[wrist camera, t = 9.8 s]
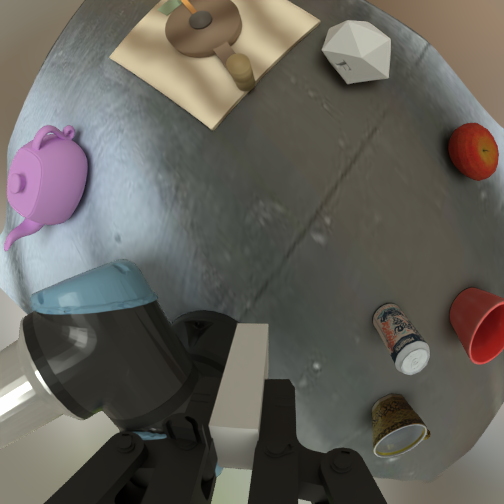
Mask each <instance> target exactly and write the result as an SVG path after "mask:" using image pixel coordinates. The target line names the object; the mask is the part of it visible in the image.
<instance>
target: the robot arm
mask: <svg viewBox="0 0 504 504" xmlns="http://www.w3.org/2000/svg"><path fill="white" fill-rule="evenodd" d="M157 298H158V297H157V295H156V293H154V292H152V290H151V288H150V287H149V285H148V283H147V282H146V280H145V278H144V277H143V275H142V273H141V271H140V270H139V268H138V267H137V266H136V265H135V264H134V263H133V262H131V261H128V260H123V259H121V260H116V261H113V262H110V263H107V264H104V265H102V266H99V267H97V268H94V269H92V270H89V271H86V272H84V273H81V274H79V275H76V276H74V277H71V278H69V279H66V280H64V281H61V282H59V283H57V284H55V285H52V286H50V287H47V288H45V289H42V290H40V291H38V292H36V293H34V294H32V295H31V297H30V301H31V307H32V309H33V312H32V313H30V314H28V315H27V316H25V317H24V318H22V320H21V323H20V331H19V338H18V340H17V341H15V342H14V343H12V344H10V345H9V346H7V347H6V348H5V349H3V350H2V351H0V449H2V448H3V447H5V446H7V445H9V444H11V443H13V442H15V441H16V440H18V439H20V438H22V437H24V436H26V435H28V434H29V433H31V432H33V431H35V430H37V429H38V428H40V427H42V426H44V425H45V424H47V423H49V422H51V421H52V420H54V419H56V418H58V417H59V416H61V415H63V414H65V415H68V416H70V417H73V418H76V419H78V420H85V419H87V418H89V417H91V416H92V415H94V414H96V413H98V412H100V411H103V412H104V413H105V414H106V415H107V416H108V417H109V418H110V419H111V420H112V421H113V423H114V424H115V425H116V426H117V427H118V428H119V430H120V432H119V433H117V434H115V435H114V436H112V437H111V438H110V439H109V440H108V441H107V442H106V443H105V444H104V445H103V446H102V447H101V448H100V449H99V450H98V451H97V452H96V453H95V454H94V455H93V456H92V457H91V458H90V459H89V460H88V461H87V462H86V463H85V464H84V465H83V466H82V467H81V468H80V469H79V470H78V471H77V472H76V473H75V474H74V475H73V476H72V477H71V478H70V479H69V480H68V481H67V482H66V483H65V484H64V485H63V486H62V487H61V488H60V489H59V490H58V491H57V492H55V494H53V495H52V497H50V498H49V499H48V500H47V501H46V502H45V503H44V504H211V501H212V496H213V491H214V487H215V483H216V478H217V476H219V475H220V474H221V472H222V470H223V467H225V468H236V469H250V470H252V476H251V484H250V491H249V499H248V504H298V499H302V500H306V501H311V503H312V504H387V502H386V500H385V499H384V497H383V495H382V493H381V491H380V489H379V488H378V486H377V484H376V482H375V480H374V479H373V477H372V475H371V473H370V471H369V469H368V467H367V466H366V464H365V462H364V460H363V458H362V457H361V456H360V454H359V453H358V452H356V451H354V450H352V449H349V448H336V449H333V450H331V451H329V452H327V453H321V452H316V451H313V450H309V449H307V448H305V447H304V446H302V445H301V444H300V443H299V441H298V439H297V435H296V410H295V387H294V386H293V384H292V383H291V381H290V380H289V379H268V368H269V349H268V324H244V323H238V322H237V321H235V320H234V319H232V318H230V317H228V316H226V315H223V314H220V313H216V312H211V311H195V312H190V313H187V314H184V315H182V316H181V317H179V318H177V319H176V320H175V321H174V322H173V323H172V324H170V323H169V321H168V319H167V318H166V316H165V314H164V312H163V311H162V309H161V307H160V305H159V303H158V302H157V300H156V299H157Z"/></svg>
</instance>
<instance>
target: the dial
mask: <svg viewBox="0 0 504 504" xmlns="http://www.w3.org/2000/svg"><path fill="white" fill-rule="evenodd" d="M181 1H182V4H181V5H180V6H178V7H177V8H176V9H175V10H174V11H173V12H172V13H171V15H170V16H169V18H168V20H167V22H166V26H165V35H166V38H167V39H168V41H169V42H170V43H171V45H172V46H173V47H174V48H175V49H176V50H177V51H178V52H180V53H181V54H183V55H185V56H189V57H194V58H202V57H209V56H213V55H217V56H218V58H219V59H220V61H221V62H222V63H223V65H224V66H225V68H226V69H227V70H228V72H229V73H230V75H231V76H232V78H233V80H234V82H235V84H236V86H237V88H238V89H239V90H241V91H245V92H246V91H250V90H252V89H253V88H254V87H255V84H256V82H255V78H254V74H253V71H252V67H251V64H250V60H249V58H248V57H247V56H246V55H244V54H241V53H235V52H234V50H233V49H232V48H231V45H232V44H233V43H234V42H235V41H236V40H237V38H238V37H239V35H240V33H241V30H242V20H241V17H240V13H239V10H238V8H237V6H236V5H235V4H234V3H233V2H232V1H231V0H181Z"/></svg>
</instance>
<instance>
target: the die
mask: <svg viewBox="0 0 504 504" xmlns="http://www.w3.org/2000/svg"><path fill="white" fill-rule="evenodd" d="M322 51H323V53H324V54H325V56H326V58H327V59H328V61H329V62H330V64H331V65H332V66H333V67H334V68H335V70H336V71H337V72H338V73H339V74H340V75H341V77H342V78H343V79H344V80H345V82H346V83H347V84H351V83H357V82H364V81H371V80H378V79H387V78H389V67H390V53H391V39H390V38H389V37H387V36H386V35H385V34H384V33H382V32H381V31H380V30H378V29H377V28H376V27H374V26H373V25H372V24H370V23H369V22H364V21H349V20H347V21H345V22H343V23H340V24H338V25H336V26H334V27H331V28H329V31H328V34H327V36H326V39H325V42H324V45H323V48H322Z"/></svg>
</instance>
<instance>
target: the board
mask: <svg viewBox="0 0 504 504" xmlns="http://www.w3.org/2000/svg"><path fill="white" fill-rule="evenodd" d="M231 1H232V2H233V3H234V4H235V5H236V6H237V8H238V10H239V13H240V17H241V20H242V30H241V33H240V35H239V37H238V38H237V40H236V41H235V42H234V43H233V44H232V45H231V48H232V49H233V50H234V52H235V53H241V54H244V55H246V56H247V57H248V58H249V60H250V64H251V67H252V71H253V74H254V78H255V82H256V84H257V83H258V82H259V81H260V80H261V78H262V77H263V76H264V75H265V74H266V73H267V72H268V71H269V70H270V69H271V68H272V67H273V66H274V65H276V64H277V63H278V62H279V61H280V60H281V59H282V58H283V57H284V56H285V55H286V54H287V53H288V52H289V51H290V50H291V49H292V48H293V47H295V46H296V45H297V44H298V43H299V42H300V41H301V40H302V39H303V38H305V37H306V36H307V35H308V34H309V33H310V32H311V31H313V30H314V29H315V28H316V27H317V26H318V25H319V24H320V20H318V19H317V18H315V17H314V16H312V15H311V14H309V13H307V12H306V11H304V10H303V9H301V8H299V7H298V6H296V5H294V4H292V3H291V2H289V1H287V0H231ZM181 4H182V1H181V0H161V1H160V2H159V3H158V4H157V5H156V6H155V7H154V8H153V9H152V10H151V11H150V12H149V13H148V14H147V15H146V16H145V17H144V18H143V19H142V20H141V21H140V22H139V23H138V24H137V25H136V26H135V27H134V28H133V30H132V31H131V32H130V33H129V34H128V35H127V36H126V38H125V39H124V40H123V41H122V42H121V43H120V45H119V46H118V47H117V48H116V49H115V51H114V52H113V53H112V54H111V56H110V57H109V58H111V59H112V60H114V61H115V62H117V63H119V64H120V65H122V66H123V67H125V68H126V69H128V70H129V71H131V72H132V73H134V74H135V75H137V76H138V77H140V78H141V79H143V80H144V81H146V82H147V83H149V84H150V85H152V86H153V87H154V88H156V89H157V90H159V91H160V92H162V93H163V94H164V95H166V96H167V97H169V98H170V99H171V100H173V101H174V102H176V103H177V104H178V105H180V106H181V107H182V108H184V109H185V110H186V111H188V112H189V113H190V114H192V115H193V116H195V117H196V118H197V119H198V120H200V121H201V122H202V123H204V124H205V125H206V126H208V127H209V128H210V129H212V130H213V131H214V130H215V129H216V128H217V127H218V125H219V124H220V123H221V122H222V121H223V120H224V119H225V117H226V116H227V115H228V114H229V113H230V112H231V111H232V109H233V108H234V107H235V106H236V105H237V104H238V103H239V102H240V101H241V100H242V98H243V97H244V96H245V95H246V94H247V93H248V92H249V91H246V92H245V91H241V90H239V89H238V88H237V86H236V84H235V82H234V80H233V78H232V76H231V75H230V73H229V72H228V70H227V69H226V68H225V66H224V65H223V63H222V62H221V61H220V59H219V58H218V56H217V55H213V56H209V57H202V58H194V57H189V56H185V55H183V54H181V53H180V52H178V51H177V50H176V49H175V48H174V47H173V46H172V45H171V43H170V42H169V41H168V39H167V38H166V35H165V26H166V22H167V20H168V18H169V16H170V15H171V13H172V12H173V11H174V10H175V9H176V8H177V7H178V6H180V5H181ZM256 84H255V85H256Z"/></svg>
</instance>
